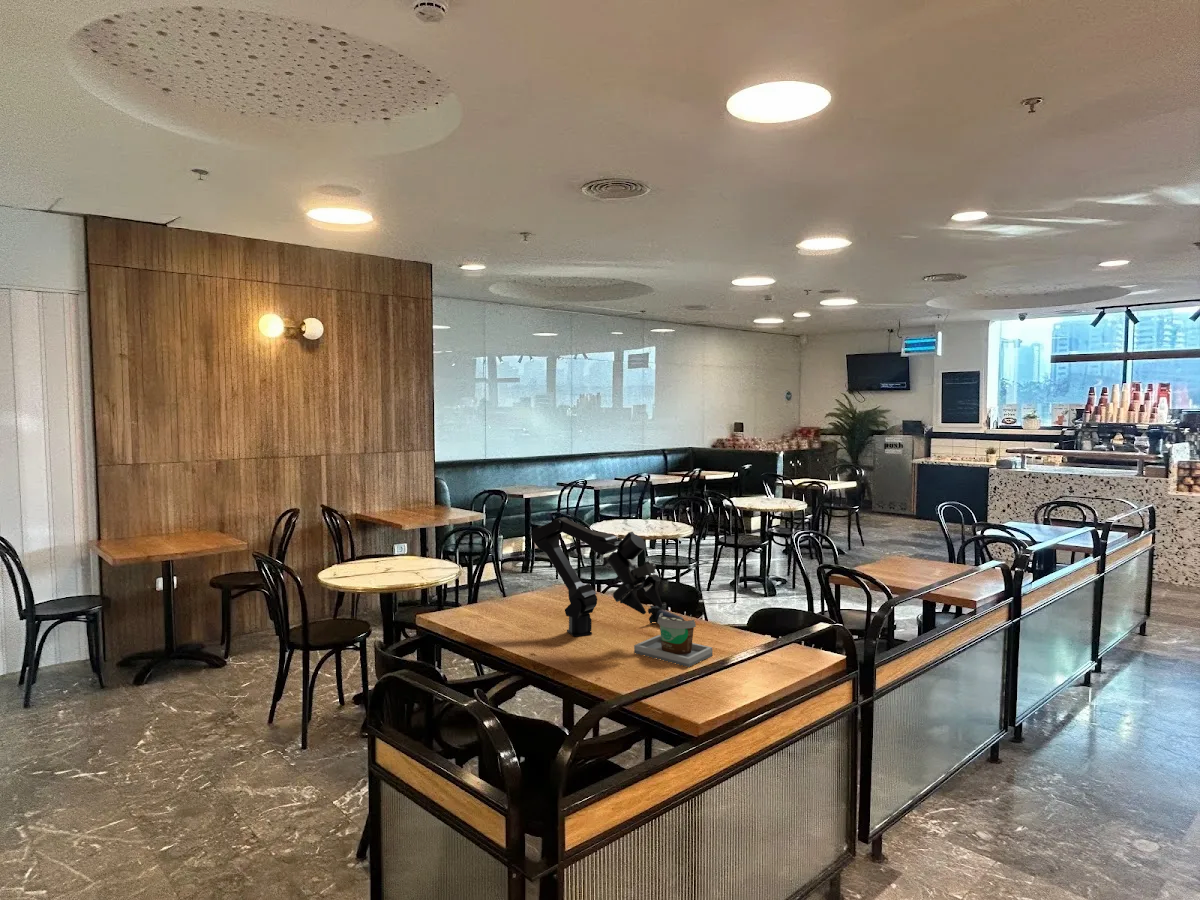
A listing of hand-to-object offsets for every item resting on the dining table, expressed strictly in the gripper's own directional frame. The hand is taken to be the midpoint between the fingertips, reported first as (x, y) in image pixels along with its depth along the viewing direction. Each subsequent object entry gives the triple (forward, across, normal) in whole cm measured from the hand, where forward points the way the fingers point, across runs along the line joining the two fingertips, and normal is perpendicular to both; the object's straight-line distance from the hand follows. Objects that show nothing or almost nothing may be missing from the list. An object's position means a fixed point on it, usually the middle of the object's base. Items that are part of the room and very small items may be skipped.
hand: (653, 610), depth 220 cm
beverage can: (+2, +24, +16) cm, 29 cm away
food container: (+13, 0, +3) cm, 13 cm away
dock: (+14, 0, +4) cm, 14 cm away
